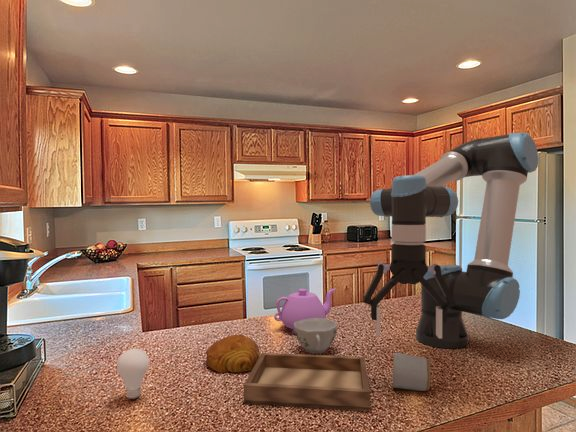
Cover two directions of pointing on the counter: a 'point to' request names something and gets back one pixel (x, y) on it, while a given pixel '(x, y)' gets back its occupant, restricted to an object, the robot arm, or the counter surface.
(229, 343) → the croissant
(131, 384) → the light bulb
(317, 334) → the teacup
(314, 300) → the teapot
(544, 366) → the counter surface
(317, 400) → the tray
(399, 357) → the ceramic mug
